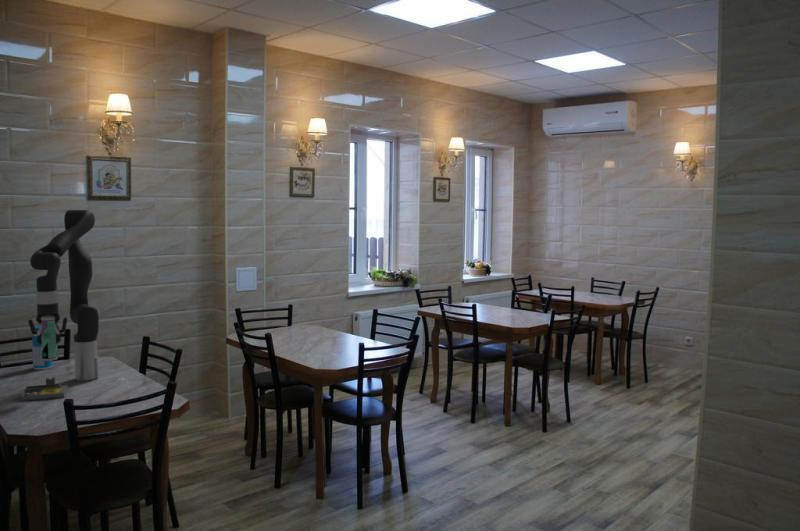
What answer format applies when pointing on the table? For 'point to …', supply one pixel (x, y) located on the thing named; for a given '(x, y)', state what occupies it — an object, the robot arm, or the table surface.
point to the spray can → (48, 338)
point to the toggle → (50, 382)
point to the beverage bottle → (39, 355)
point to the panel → (43, 392)
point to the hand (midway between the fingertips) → (49, 343)
